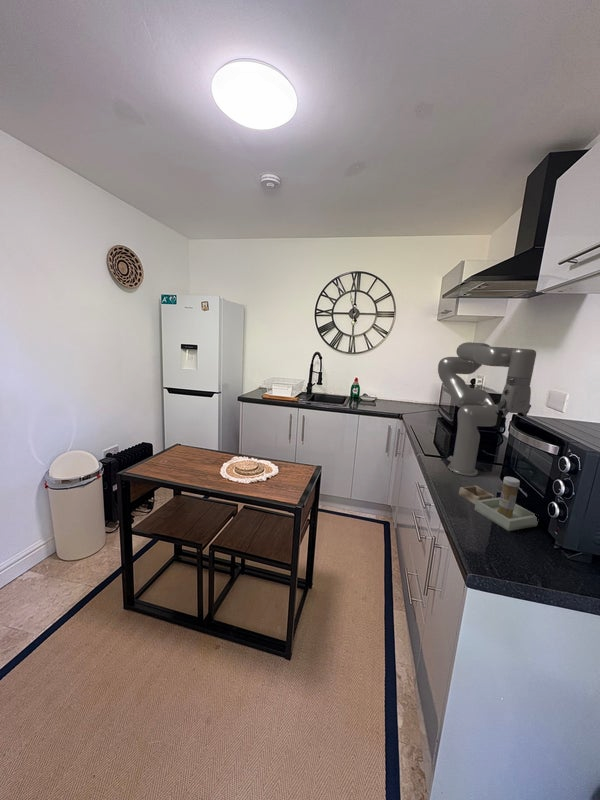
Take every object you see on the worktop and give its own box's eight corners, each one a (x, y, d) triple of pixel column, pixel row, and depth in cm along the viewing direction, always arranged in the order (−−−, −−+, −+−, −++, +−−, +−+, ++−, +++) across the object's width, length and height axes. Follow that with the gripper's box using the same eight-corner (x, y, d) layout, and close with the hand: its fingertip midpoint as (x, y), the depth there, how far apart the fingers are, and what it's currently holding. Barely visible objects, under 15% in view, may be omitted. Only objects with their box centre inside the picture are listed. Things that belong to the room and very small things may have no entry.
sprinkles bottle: (493, 511, 109) (500, 475, 106) (505, 511, 110) (513, 476, 107) (503, 518, 105) (511, 481, 102) (515, 518, 105) (523, 482, 102)
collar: (458, 494, 122) (459, 487, 121) (474, 492, 125) (475, 485, 124) (476, 505, 114) (477, 497, 114) (492, 502, 117) (494, 495, 116)
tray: (474, 509, 111) (476, 500, 110) (501, 505, 115) (503, 497, 114) (508, 531, 99) (510, 521, 98) (536, 525, 103) (539, 516, 102)
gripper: (510, 383, 109) (501, 429, 113) (544, 384, 115) (535, 428, 118) (491, 380, 116) (483, 424, 120) (524, 381, 122) (516, 423, 125)
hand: (509, 426), depth 119 cm, fingers open, 9 cm apart
